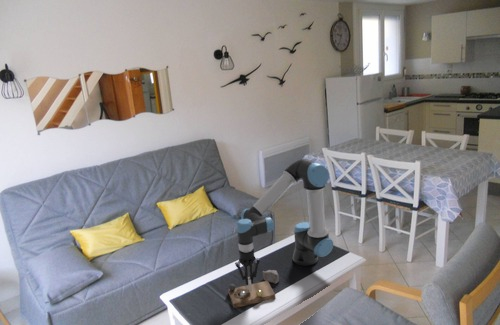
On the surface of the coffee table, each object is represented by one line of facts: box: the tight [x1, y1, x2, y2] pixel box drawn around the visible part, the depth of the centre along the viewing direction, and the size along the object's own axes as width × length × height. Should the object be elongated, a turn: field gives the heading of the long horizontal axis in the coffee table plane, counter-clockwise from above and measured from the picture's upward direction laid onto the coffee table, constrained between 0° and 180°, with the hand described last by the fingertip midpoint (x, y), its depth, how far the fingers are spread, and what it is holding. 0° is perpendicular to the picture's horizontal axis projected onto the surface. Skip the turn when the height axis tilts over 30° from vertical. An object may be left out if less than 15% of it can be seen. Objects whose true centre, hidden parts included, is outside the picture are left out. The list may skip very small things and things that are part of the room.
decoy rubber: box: [228, 283, 237, 291], centre depth 201 cm, size 4×4×4 cm
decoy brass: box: [256, 290, 263, 297], centre depth 194 cm, size 4×4×4 cm
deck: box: [228, 280, 276, 309], centre depth 199 cm, size 22×13×2 cm, turn 104°
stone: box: [262, 269, 280, 284], centre depth 212 cm, size 10×8×6 cm
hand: (249, 289), depth 198 cm, fingers closed
